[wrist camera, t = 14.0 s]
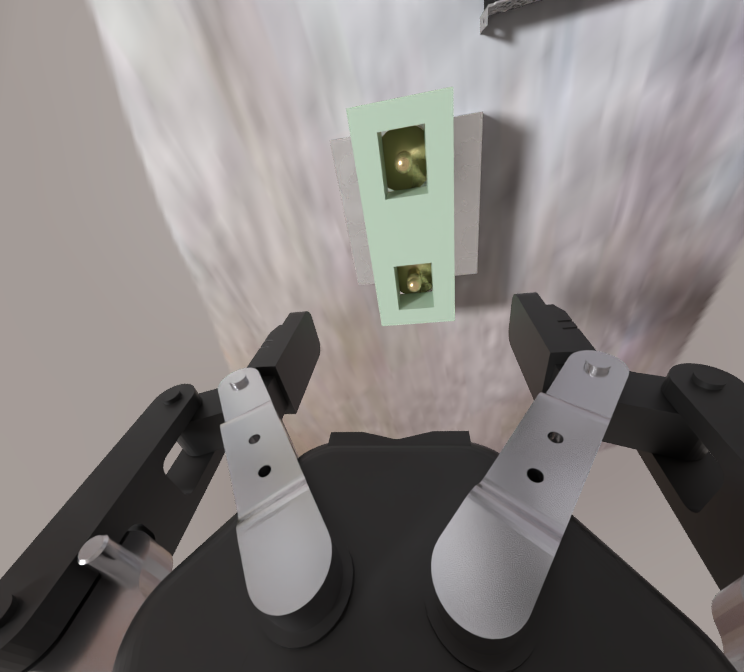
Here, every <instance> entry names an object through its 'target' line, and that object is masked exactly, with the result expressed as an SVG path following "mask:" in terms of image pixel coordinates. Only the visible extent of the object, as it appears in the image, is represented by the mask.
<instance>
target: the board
mask: <svg viewBox="0 0 744 672" xmlns="http://www.w3.org/2000/svg"><path fill="white" fill-rule="evenodd" d="M346 111H347V117H348V124H349V130H350V136H351V142H352V148H353V154H354V160H355V166H356V172H357V178H358V184H359V190H360V196H361V202H362V208H363V214H364V220H365V226H366V232H367V238H368V244H369V250H370V256H371V262H372V268H373V275H374V281H375V287H376V293H377V299H378V305H379V311H380V317H381V323H382V326H389V325H403V324H417V323H431V322H445V321H455V270H454V129H453V87H448V88H444V89H439V90H434V91H429V92H424V93H419V94H414V95H410V96H405V97H400V98H395V99H390V100H385V101H381V102H376V103H371V104H366V105H361V106H356V107H352V108H347V109H346ZM419 124H424V139H425V159H426V178H427V186H423V187H416V188H410V189H403V190H396V191H390V192H388V186H387V178H386V169H385V161H384V152H383V144H382V135H381V132H382V131H387V130H393V129H398V128H403V127H409V126H414V125H419ZM424 263H431V274H432V291H430V292H419V293H408V294H400V288H399V280H398V271H397V266H405V265H415V264H424Z"/></svg>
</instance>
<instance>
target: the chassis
mask: <svg viewBox="0 0 744 672" xmlns="http://www.w3.org/2000/svg"><path fill="white" fill-rule="evenodd" d="M482 125H483V112H478V113H472V114H467V115H462V116H457V117H453V129H454V270H455V276H457V275H467V274H477V263H478V236H479V208H480V180H481V153H482ZM381 135H382V144H383V152H384V161H385V169H386V178H387V186H388V192H390V191H396V190H403V189H410V188H416V187H423V186H427V178H426V159H425V139H424V124H419V125H414V126H409V127H403V128H398V129H393V130H387V131H382V132H381ZM330 146H331V151H332V156H333V161H334V166H335V171H336V176H337V181H338V186H339V191H340V196H341V201H342V206H343V211H344V216H345V221H346V226H347V231H348V236H349V241H350V246H351V251H352V256H353V261H354V266H355V271H356V276H357V281H358V285H366V284H375V281H374V275H373V268H372V262H371V256H370V250H369V244H368V238H367V232H366V226H365V220H364V214H363V208H362V202H361V196H360V190H359V184H358V178H357V172H356V166H355V160H354V154H353V148H352V142H351V137H346V138H341V139H336V140H331V141H330ZM397 271H398V280H399V288H400V291H401V292H403V293H405V294H408V293H419V292H427V291H428V290H430V289H431V288H432V274H431V263H424V264H415V265H405V266H397Z"/></svg>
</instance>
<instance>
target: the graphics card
mask: <svg viewBox="0 0 744 672" xmlns="http://www.w3.org/2000/svg"><path fill="white" fill-rule="evenodd" d="M537 1H540V0H484V12H483V13H482V15H481V17H480V34H481V32H482V31H483V30H484V29H485V28H486V26H487V24H488V15H489V16H490V15H491V14H492V15H493V14H496V13H499V12H506V11H508V10H509V9H514V8H515V9H516V8H517V7H518V6H519V7H520V6H523V5H527V4H530V3H533V2H537ZM541 1H542V0H541ZM483 20H484V23H483Z"/></svg>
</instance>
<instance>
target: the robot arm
mask: <svg viewBox="0 0 744 672" xmlns="http://www.w3.org/2000/svg"><path fill="white" fill-rule="evenodd" d="M509 341H510V345H511V348H512V350H513V352H514V355H515V357H516V359H517V362H518V364H519V366H520V369H521V371H522V373H523V376H524V378H525V380H526V383H527V385H528V387H529V390H530V392H531V394H532V397H533V399H534V402H533V403H532V405H531V406H530V408H529V409H528V411H527V413H526V414H525V416H524V417H523V419H522V420H521V422H520V423H519V425H518V426H517V428H516V429H515V431H514V433H513V434H512V436H511V437H510V439H509V440H508V442H507V443H506V445H505V446H504V448H503V449H502V451H501V452H500V453H498V452H496V451H495V450H492V449H490V448H488V447H485V446H482V445H479V444H476V443H472V442H471V441H470V435H469V431H432V432H428V433H424V434H419V435H415V436H411V437H406V438H402V439H391V438H387V437H383V436H378V435H374V434H369V433H365V432H331V435H330V439H329V443H327V444H324V445H321V446H318V447H316V448H314V449H311V450H309V451H308V452H306V453H304V454H303V455H301V456H300V457H299V456H298V454H297V452H296V450H295V447H294V445H293V443H292V441H291V439H290V436H289V434H288V432H287V430H286V428H285V425H284V423H283V421H282V418H283V416H284V414H296V413H297V410H298V408H299V405H300V403H301V400H302V398H303V395H304V393H305V390H306V388H307V385H308V383H309V380H310V378H311V375H312V373H313V370H314V368H315V365H316V363H317V360H318V358H319V355H320V342H319V339H318V335H317V332H316V329H315V326H314V323H313V320H312V316H311V314H310V313H309V312H308V311H305V312H294V313H290V314H289V315H288V317H287V318H286V320H285V321H284V323H283V325H279V326H278V327H277V328H275V329H274V330H273V331H272V332H270V334H269V335H268V337H267V338H266V340H265V342H264V343H263V344H262V346H261V348H260V349H259V350H258V352H257V353H256V355H255V356H254V358H253V359H252V361H251V362H250V364H249V365H248V367H247V368H243V369H239V370H236V371H234V372H232V373H230V374H229V375H228V376H226V377H225V378H224V379H223V380H222V381H221V382H220V384H219V386H218V388H217V389H214V390H210V391H206V392H203V393H199V394H198V392H197V391H196V389H195V388H194V386H193V385H191V384H181V385H177V386H174V387H172V388H170V389H168V390H166V391H164V392H163V393H162V394H160V395H159V396H158V397H157V398H156V399H155V400H154V401H153V402H152V403H151V404H150V406H149V407H148V408H147V409H146V410H145V411H144V413H143V414H142V415H141V416H140V417H139V418H138V419H137V421H136V422H135V423H134V424H133V425H132V426H131V428H130V429H129V430H128V431H127V433H125V435H124V436H123V437H122V438H121V439H120V441H119V442H118V443H117V444H116V445H115V446H114V447H113V449H112V450H111V451H110V452H109V453H108V455H107V456H106V457H105V458H104V459H103V460H102V461H101V463H100V464H99V465H98V466H97V467H96V468H95V470H94V471H93V472H92V473H91V474H90V475H89V477H88V478H87V479H86V480H85V481H84V482H83V484H82V485H81V486H80V487H79V488H78V489H77V491H76V492H75V493H74V494H73V495H72V497H71V498H70V499H69V500H68V501H67V502H66V504H65V505H64V506H63V507H62V508H61V509H60V510H59V512H58V513H57V514H56V515H55V516H54V518H53V519H52V520H51V521H50V522H49V523H48V525H47V526H46V527H45V528H44V529H43V531H42V532H41V533H40V534H39V535H38V536H37V537H36V538H35V540H34V541H33V542H32V543H31V544H30V545H29V547H28V548H27V549H26V550H25V551H24V552H23V554H22V555H21V556H20V557H19V558H18V559H17V561H16V562H15V563H14V564H13V565H12V567H11V568H10V569H9V570H8V571H7V572H6V573H5V575H4V576H3V577H2V578H1V579H0V672H744V383H743V382H742V381H741V380H740V379H738V378H737V377H735V376H733V375H732V374H730V373H728V372H725V371H723V370H720V369H717V368H714V367H710V366H707V365H702V364H691V363H686V364H678V365H676V366H674V367H672V368H671V369H670V370H669V372H668V374H667V376H666V377H663V376H656V375H649V374H642V373H636V372H631V371H629V369H628V367H627V366H626V364H625V363H624V362H623V361H621V360H620V359H618V358H617V357H615V356H613V355H610V354H607V353H604V352H600V351H596V350H595V349H594V347H593V346H592V345H591V343H590V342H589V341H588V340H587V338H586V337H585V336H584V335H583V333H582V332H581V331H580V330H579V329H577V326H576V324H575V323H574V322H572V319H571V318H570V317H569V316H568V314H567V313H566V312H565V311H564V310H562V309H560V308H558V307H557V306H555V305H553V304H551V305H546V304H545V303H544V302H543V300H542V299H541V297H540V296H539V295H538V293H536V292H534V293H523V294H514V295H513V298H512V305H511V314H510V323H509ZM176 441H177V442H178V444H179V445H180V446H181V447H182V448H183V449H182V451H181V452H180V454H179V456H178V457H177V459H176V460H175V462H174V463H173V465H172V466H171V468H170V470H169V471H168V473H167V474H165V473H164V470H163V464H164V460H165V458H166V456H167V454H168V453H169V452H170V450H171V448H172V447H173V446H174V444H175V443H176ZM602 441H603V442H607V443H611V444H615V445H620V446H624V447H628V448H632V449H637V451H638V453H639V455H640V456H641V458H642V459H643V461H644V463H645V465H646V466H647V468H648V470H649V471H650V473H651V475H652V476H653V478H654V480H655V481H656V483H657V485H658V486H659V488H660V490H661V491H662V493H663V495H664V496H665V498H666V500H667V501H668V503H669V505H670V507H671V508H672V510H673V511H674V513H675V515H676V517H677V518H678V520H679V521H680V523H681V525H682V527H683V528H684V530H685V532H686V533H687V535H688V537H689V539H690V540H691V542H692V544H693V545H694V547H695V548H696V550H697V552H698V554H699V555H700V557H701V559H702V560H703V562H704V564H705V565H706V567H707V569H708V570H709V572H710V574H711V575H712V577H713V579H714V581H715V582H716V584H717V585H718V587H719V589H720V592H719V593H717V594H716V595H715V597H714V599H713V601H712V614H713V619H714V622H715V624H716V626H717V629H718V631H719V634H720V636H721V639H722V643H723V650H724V653H723V652H722V651H721V650H720V649H719V648H718V646H716V644H715V643H714V642H713V641H712V640H711V639H710V638H709V637H708V636H707V635H706V634H705V633H704V632H703V631H702V630H701V629H700V628H699V627H698V626H697V625H696V624H695V623H694V622H693V621H692V620H691V619H689V618H688V617H687V616H686V615H685V614H684V613H682V612H681V610H679V609H678V608H677V607H676V606H675V605H674V604H672V603H671V602H670V601H669V600H668V599H667V598H666V597H665V596H664V595H662V594H661V593H660V592H659V591H658V590H657V589H656V588H654V587H653V586H652V585H651V584H650V583H649V582H648V581H647V580H645V579H644V578H643V577H642V576H640V574H639V573H638V572H636V571H635V570H634V569H633V568H632V567H631V566H630V565H628V564H627V563H626V562H625V561H624V560H623V559H622V558H621V557H619V556H618V555H617V554H616V553H615V552H613V550H612V549H610V548H609V547H608V546H607V545H606V544H605V543H604V542H602V541H601V540H600V539H599V538H598V537H597V536H596V535H594V534H593V533H592V532H591V531H590V530H589V529H588V528H586V526H584V525H583V524H582V523H581V522H580V521H579V520H578V519H577V518H575V517H574V516H573V515H572V512H573V510H574V507H575V505H576V502H577V500H578V498H579V495H580V493H581V490H582V488H583V485H584V483H585V481H586V478H587V476H588V473H589V471H590V468H591V466H592V464H593V461H594V458H595V456H596V454H597V451H598V449H599V446H600V444H601V442H602ZM709 451H710V452H709ZM224 453H225V454H226V458H227V463H228V468H229V473H230V478H231V484H232V488H233V493H234V498H235V503H236V508H237V513H236V514H235V515H234V516H233V517H232V518H231V519H229V520H228V521H227V522H226V523H225V524H224V525H223V526H222V527H220V528H219V529H218V530H217V531H216V532H215V533H214V534H213V535H212V536H210V537H209V538H208V539H207V540H206V541H205V542H204V543H203V544H202V545H200V546H199V547H198V548H197V549H196V550H195V551H194V552H193V553H192V554H191V555H189V556H188V557H187V558H186V559H185V560H184V561H183V562H182V563H181V564H180V565H178V566H177V567H176V568H175V569H174V570H173V571H172V567H173V558H172V556H173V554H174V552H175V550H176V548H177V546H178V544H179V542H180V540H181V538H182V536H183V534H184V532H185V530H186V528H187V527H188V525H189V523H190V521H191V519H192V517H193V515H194V513H195V511H196V509H197V506H198V505H199V503H200V501H201V499H202V497H203V495H204V493H205V491H206V489H207V487H208V485H209V483H210V481H211V479H212V477H213V475H214V473H215V471H216V469H217V467H218V465H219V463H220V461H221V459H222V457H223V455H224ZM713 456H714V457H713ZM717 461H718V462H717Z"/></svg>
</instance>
